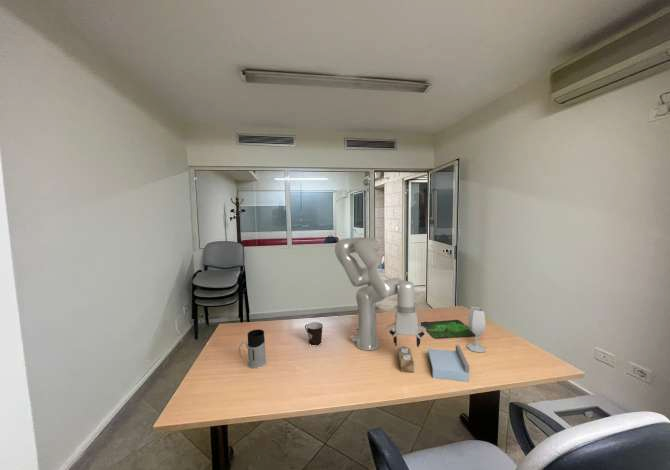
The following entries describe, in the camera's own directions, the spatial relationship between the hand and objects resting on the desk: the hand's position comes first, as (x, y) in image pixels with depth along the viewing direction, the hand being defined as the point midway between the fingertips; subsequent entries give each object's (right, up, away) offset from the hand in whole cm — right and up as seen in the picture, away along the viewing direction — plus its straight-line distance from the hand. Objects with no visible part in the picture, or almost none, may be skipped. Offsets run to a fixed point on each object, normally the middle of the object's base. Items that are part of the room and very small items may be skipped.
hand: (406, 345), depth 121 cm
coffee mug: (-44, -9, +24) cm, 51 cm away
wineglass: (+39, -8, +14) cm, 43 cm away
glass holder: (-72, -11, +3) cm, 72 cm away
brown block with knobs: (0, -10, +1) cm, 10 cm away
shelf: (+17, -10, -2) cm, 20 cm away
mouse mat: (+34, -6, +37) cm, 51 cm away
